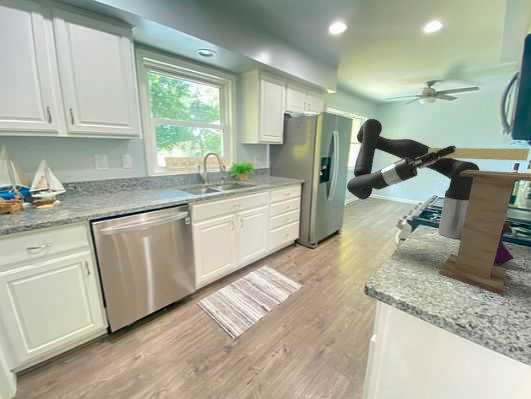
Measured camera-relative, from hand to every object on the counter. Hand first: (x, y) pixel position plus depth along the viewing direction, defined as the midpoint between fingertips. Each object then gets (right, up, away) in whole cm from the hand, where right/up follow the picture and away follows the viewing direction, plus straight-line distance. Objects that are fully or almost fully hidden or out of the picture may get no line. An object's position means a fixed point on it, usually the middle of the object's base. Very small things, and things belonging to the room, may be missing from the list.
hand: (454, 148), depth 71 cm
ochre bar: (+3, -4, -3) cm, 5 cm away
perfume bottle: (+21, -38, +10) cm, 44 cm away
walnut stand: (+7, -40, +1) cm, 40 cm away
